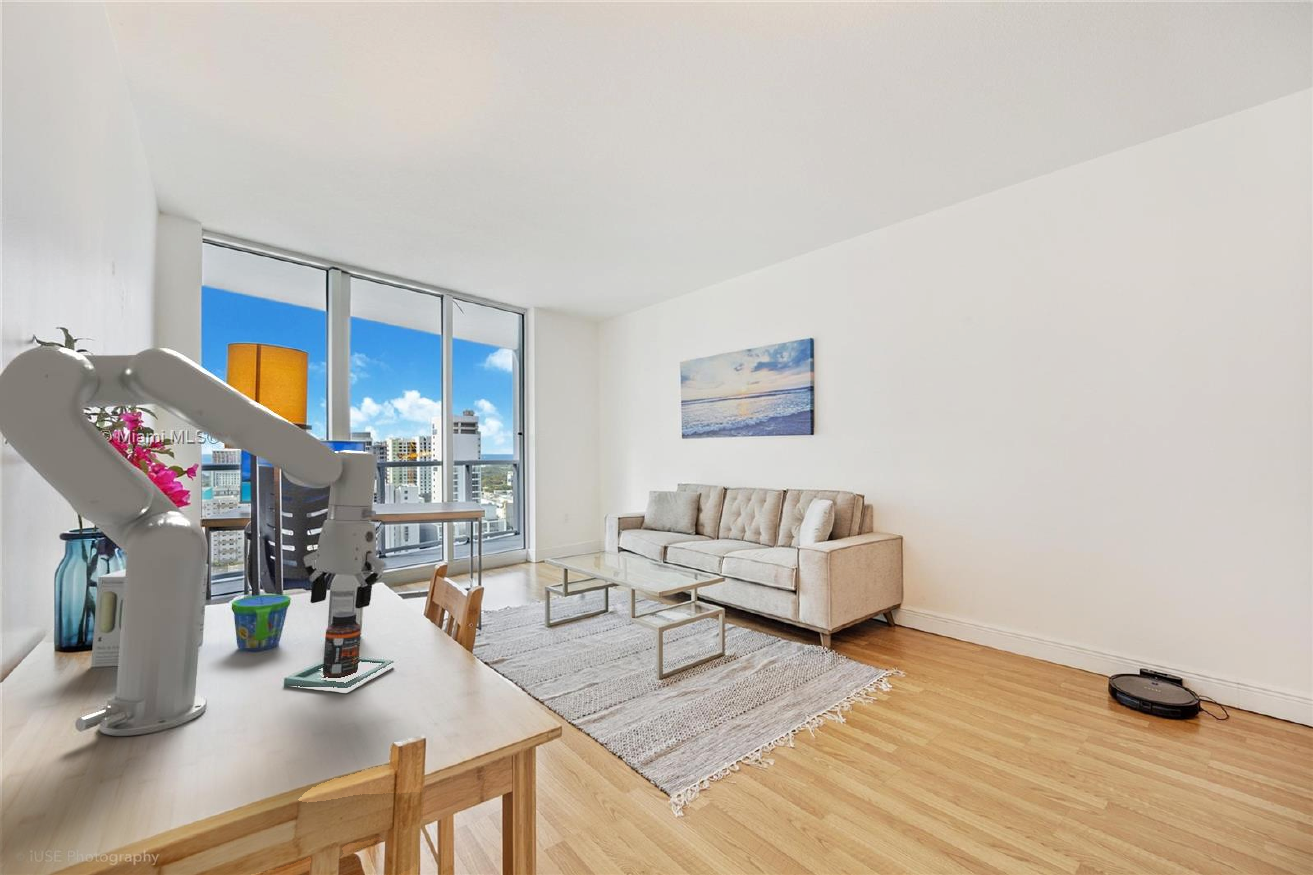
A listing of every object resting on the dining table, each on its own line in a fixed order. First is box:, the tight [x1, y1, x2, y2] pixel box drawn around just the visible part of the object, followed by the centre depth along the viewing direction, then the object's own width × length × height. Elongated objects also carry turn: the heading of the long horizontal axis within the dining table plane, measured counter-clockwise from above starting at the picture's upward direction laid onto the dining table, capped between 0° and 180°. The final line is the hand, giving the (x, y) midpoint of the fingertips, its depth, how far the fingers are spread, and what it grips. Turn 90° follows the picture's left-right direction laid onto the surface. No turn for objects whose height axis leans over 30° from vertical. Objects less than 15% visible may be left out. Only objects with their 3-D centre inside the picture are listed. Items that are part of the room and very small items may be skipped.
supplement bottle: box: [323, 612, 362, 678], centre depth 107 cm, size 6×6×11 cm
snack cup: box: [231, 594, 292, 652], centre depth 123 cm, size 16×10×10 cm
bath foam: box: [327, 574, 364, 633], centre depth 130 cm, size 7×7×20 cm
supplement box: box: [90, 563, 209, 668], centre depth 116 cm, size 13×13×18 cm
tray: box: [283, 656, 395, 688], centre depth 107 cm, size 13×13×2 cm
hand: (340, 604), depth 107 cm, fingers open, 9 cm apart
